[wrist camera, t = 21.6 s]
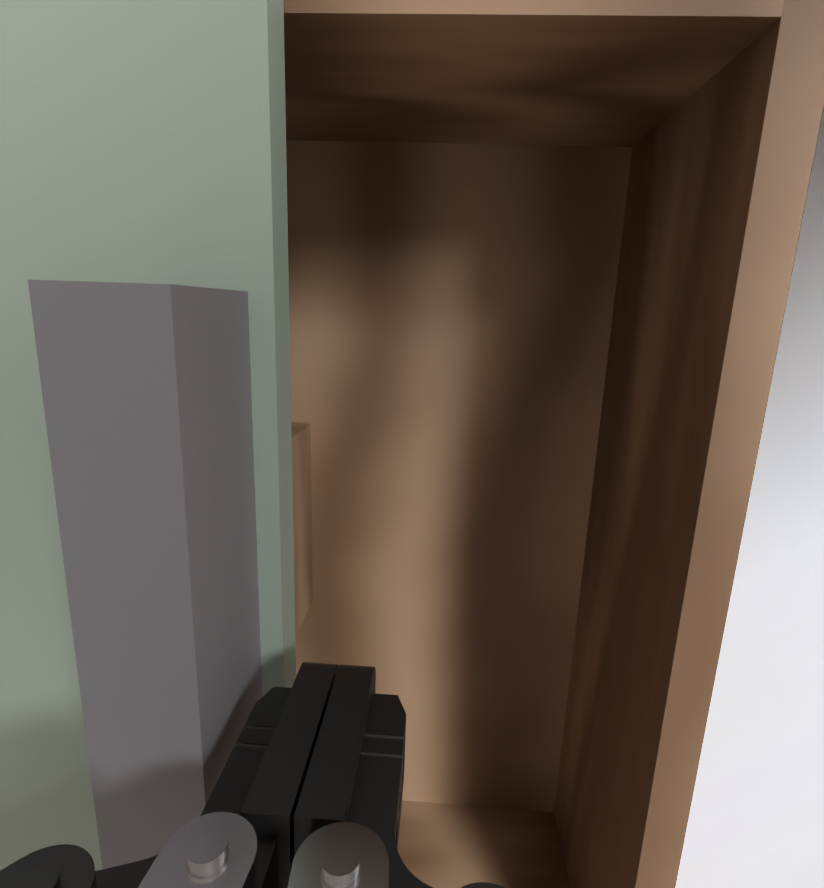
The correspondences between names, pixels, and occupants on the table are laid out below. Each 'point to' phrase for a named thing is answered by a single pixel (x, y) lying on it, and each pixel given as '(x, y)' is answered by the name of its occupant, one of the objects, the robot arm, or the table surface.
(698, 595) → the toolbox
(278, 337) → the toolbox lid
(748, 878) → the table surface
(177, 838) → the robot arm
